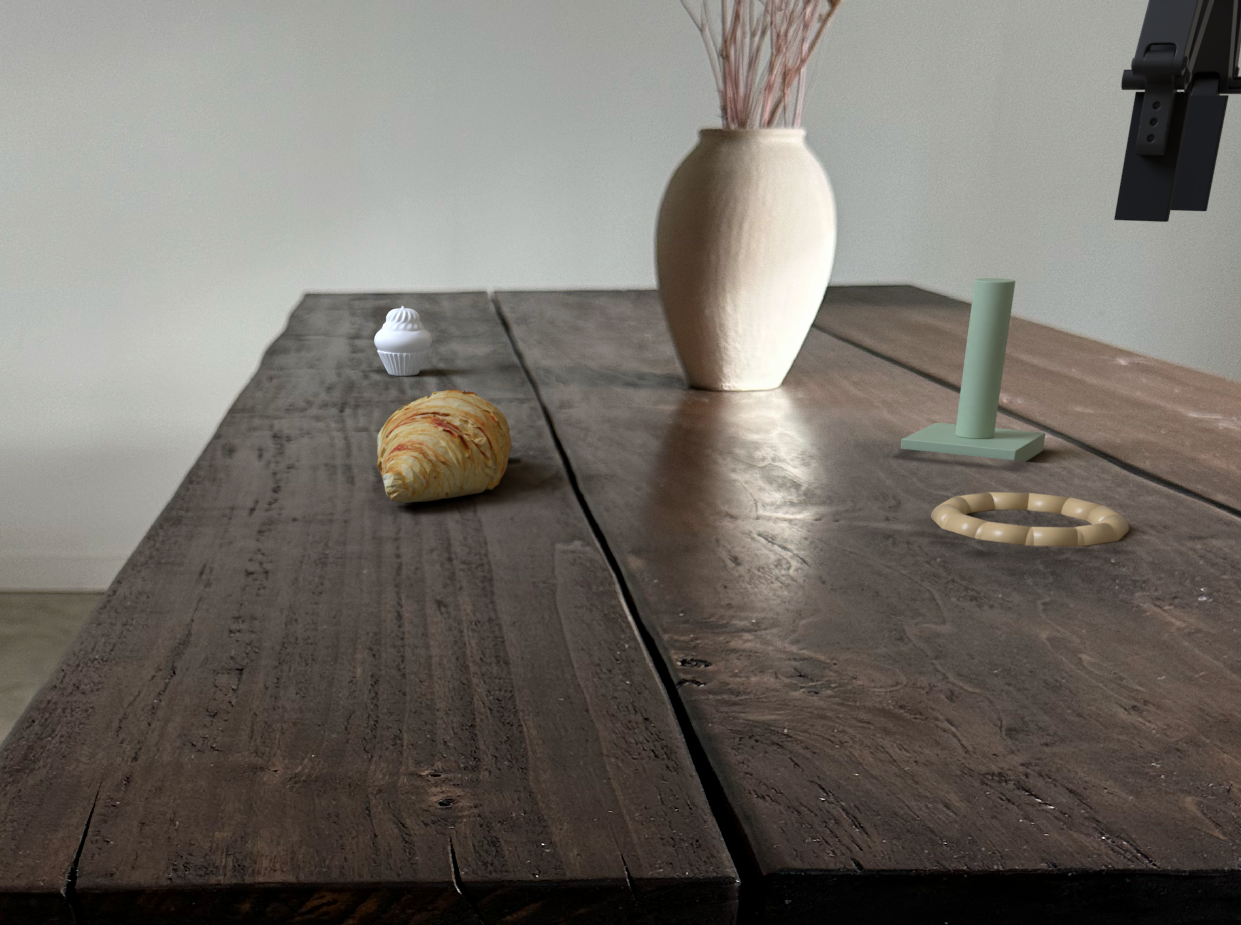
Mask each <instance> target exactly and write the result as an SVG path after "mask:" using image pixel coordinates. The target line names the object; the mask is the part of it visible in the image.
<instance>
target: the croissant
mask: <svg viewBox="0 0 1241 925" xmlns="http://www.w3.org/2000/svg"><path fill="white" fill-rule="evenodd" d="M510 430H511V428H510V426H509V423H508V420H507V418H506V417H505V415H504V413H503V412H502V411H501V409H499V408H498V407H497V406H495V405H494V404H492V402H491V401H488V400H487V399H485V398H482V397H481V396H479V395H478V394H477V392H473V391H466V390H458V389H446V390H442V391H441V390H440V391H433V392H432V393H431V395H427V396H423V397H420V398H418V399H417V398H416V400H413V401H412V402H407V403H405V404H404V405H402V406H400V407H399V408H398V409H397V410H395V412H393V413H392V414H391V415H390V417H388V419H387V420H386V422H385V423H384V424H383V426H382V427H381V429H380V430H379V432H378V435H377V438H376V439H377V440H376V443H377V451H376V453H377V457H378V458H377V469H378V471H379V473H380V475H381V479H382V482H383V486H384V491H385V494H386V497H387V498H388V499H389V500H391V502H396V503H404V504H405V503H419V502H421V503H422V502H432V501H439V500H442V499H443V500H444V499H451V498H458V497H464V496H470V495H475V494H482V493H483V492H485V491H487V490H493V489H494V488H495V487H497V486H498V485H499V484H500V483H501V480H502V478H503V476H504V475H505V472H506V470H507V467H508V463H509V462H508V461H509V458H510V456H511V451H512V436H511V433H510V432H511V431H510Z"/></svg>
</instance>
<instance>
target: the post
mask: <svg viewBox="0 0 1241 925" xmlns="http://www.w3.org/2000/svg"><path fill="white" fill-rule="evenodd" d="M973 284H974V285H973V292H972V300H971V307H970V315H969V323H968V330H967V337H966V347H965V354H964V362H963V369H962V376H961V384H960V392H959V399H958V408H957V415H956V423H946V422H934V423H932V424H929V425H928V426H926V427H924V428H922V429H920V430H918V431H916V432H914V433H911V434H909V435H907V436H905V437H903V438H901V440H900V450H901V449H903V450H911V451H919V452H920V451H921V452H930V453H941V454H951V455H959V456H970V457H979V458H989V459H996V460H997V459H998V460H1006V461H1017V462H1028V461H1029V460H1031V459H1033V458H1034V457H1035V456H1038V455H1039V454H1041V453H1042V452H1043V451H1044V445H1045V439H1046V432H1041V431H1031V430H1019V429H1009V428H998V427H996V423H997V417H998V409H999V408H998V407H999V401H1000V395H1001V388H1002V381H1003V380H1002V379H1003V374H1004V365H1005V358H1006V352H1007V344H1008V337H1009V330H1010V323H1011V316H1012V315H1011V314H1012V308H1013V301H1014V295H1015V289H1016V288H1015V286H1016V280H1015V279H1012V278H998V277H997V278H996V277H982V278H975V280H974V283H973Z"/></svg>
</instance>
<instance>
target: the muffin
mask: <svg viewBox="0 0 1241 925" xmlns="http://www.w3.org/2000/svg"><path fill="white" fill-rule="evenodd" d="M420 316H421V315H420V314H419V313H418V312H417V311H416V310H415V309H413V308H408V307H405V306H404V305H401V307H398V308H393V309H391V310H390V311H388V313H387V315H386V316H385V322H384V323H383V325H382V326H381V328H380V329H379V330H378V331H377V332H376V334H375V335H374V339H373V340H374V345H375V347H376V349H377V350H376V352H377V354H378V356H379V359H380V360H381V362H382V364H383V366H384V368H385V369H386V372H387V373H388V375H390V376H397V377H408V376H417V375H418V374H419V373H420V371H421V369H422V367H423V365H424V363H425V361H426V358H427V357H428V354H429V353H430V350H429V349H430V348H431V345H432V343H433V337H432V335H431V333H430V332H429V331H428V329H426V328H425V327H424V324H423V323H422V322H421V317H420Z"/></svg>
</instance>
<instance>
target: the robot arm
mask: <svg viewBox="0 0 1241 925" xmlns="http://www.w3.org/2000/svg"><path fill="white" fill-rule="evenodd" d="M1240 55H1241V0H1148V3H1147V7H1146V10H1145V15H1144V18H1143V22H1142V27H1141V30H1140V33H1139V37H1138V41H1137V46H1136V50H1135V53H1134V56H1133V58H1132V59H1131V64H1130V69H1123V72H1122V77H1121V83H1120V85H1121V86H1120V87H1121V90H1122V91H1135V93H1134V100H1133V105H1132V112H1131V117H1130V123H1129V130H1128V136H1127V140H1126V147H1125V152H1124V153H1125V154H1124V158H1123V165H1122V171H1121V175H1120V176H1121V177H1120V182H1119V188H1118V194H1117V200H1116V205H1115V212H1114V216H1113V217H1114V219H1113V220H1114V221H1131V222H1132V221H1133V222H1154V223H1155V222H1157V223H1158V222H1159V223H1167V222H1169V220H1170V215H1171V211H1180V212H1181V211H1182V212H1185V211H1186V212H1207V211H1208V206H1209V200H1210V196H1211V190H1212V185H1213V180H1214V175H1215V170H1216V164H1217V160H1218V154H1219V149H1220V144H1221V139H1222V134H1223V127H1224V122H1225V118H1226V112H1227V107H1228V103H1229V102H1228V101H1229V97H1230V95H1241V75H1239V74H1240V67H1239V64H1240Z"/></svg>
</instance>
